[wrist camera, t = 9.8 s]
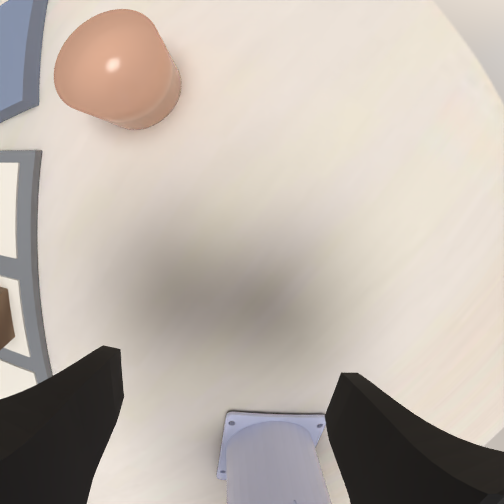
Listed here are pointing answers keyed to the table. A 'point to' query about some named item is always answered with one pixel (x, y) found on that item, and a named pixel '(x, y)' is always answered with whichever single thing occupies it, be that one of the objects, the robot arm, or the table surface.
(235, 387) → the table surface
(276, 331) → the table surface
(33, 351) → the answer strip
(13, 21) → the slate blue flat block
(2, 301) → the block
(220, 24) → the table surface
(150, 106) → the peach dome-topped cylinder
